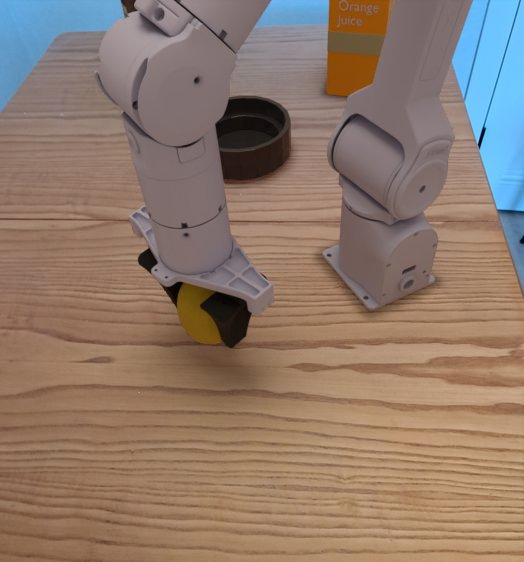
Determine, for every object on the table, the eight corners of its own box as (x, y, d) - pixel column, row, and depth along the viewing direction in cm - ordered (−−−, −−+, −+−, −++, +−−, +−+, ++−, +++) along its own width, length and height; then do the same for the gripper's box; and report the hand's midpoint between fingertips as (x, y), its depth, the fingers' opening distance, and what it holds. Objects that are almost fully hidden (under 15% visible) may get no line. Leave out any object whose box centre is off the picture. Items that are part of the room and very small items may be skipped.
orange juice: (325, 94, 81) (329, -75, 65) (338, 63, 86) (346, -100, 70) (380, 99, 79) (399, -72, 63) (391, 68, 84) (410, -99, 68)
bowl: (308, 163, 72) (308, 130, 68) (220, 195, 69) (215, 163, 65) (263, 117, 78) (261, 85, 75) (181, 145, 76) (175, 113, 72)
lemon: (247, 315, 55) (239, 254, 48) (240, 362, 51) (231, 303, 45) (191, 313, 55) (175, 252, 49) (180, 359, 52) (162, 301, 46)
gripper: (81, 190, 43) (127, 310, 53) (217, 280, 36) (238, 395, 47) (153, 145, 45) (183, 267, 56) (291, 221, 39) (294, 343, 50)
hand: (212, 323), depth 52 cm, fingers closed on lemon, 5 cm apart
